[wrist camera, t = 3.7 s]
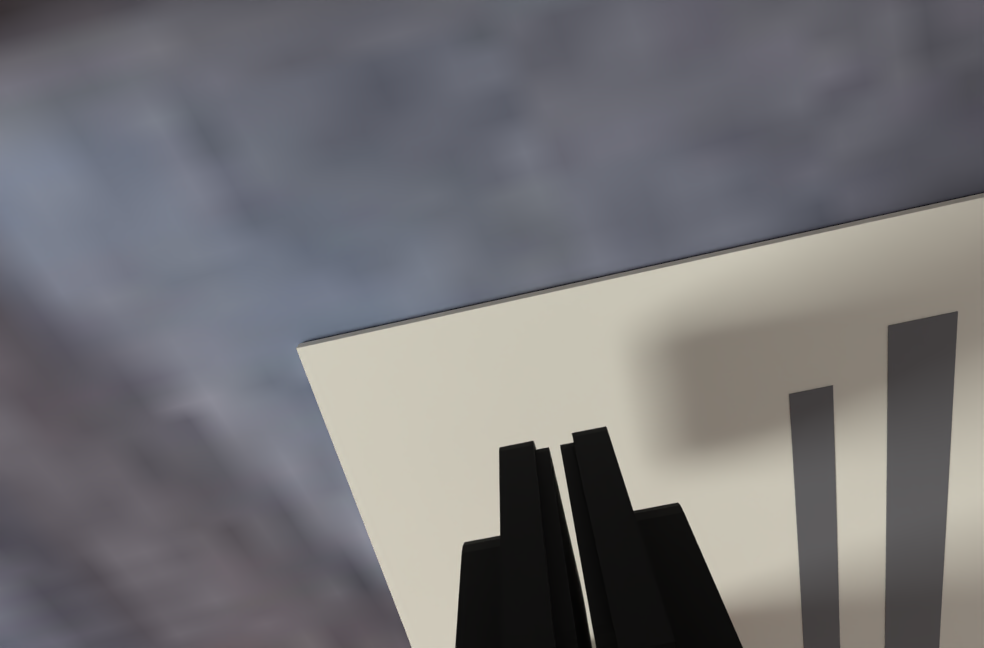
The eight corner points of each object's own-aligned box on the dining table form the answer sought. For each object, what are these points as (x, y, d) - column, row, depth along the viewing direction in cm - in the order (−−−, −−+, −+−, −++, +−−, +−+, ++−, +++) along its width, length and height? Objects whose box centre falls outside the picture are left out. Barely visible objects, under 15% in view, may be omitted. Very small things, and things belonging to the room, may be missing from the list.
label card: (299, 343, 12) (295, 348, 11) (1104, 166, 11) (1116, 168, 10) (495, 855, 18) (495, 864, 18) (1020, 775, 17) (1026, 784, 16)
